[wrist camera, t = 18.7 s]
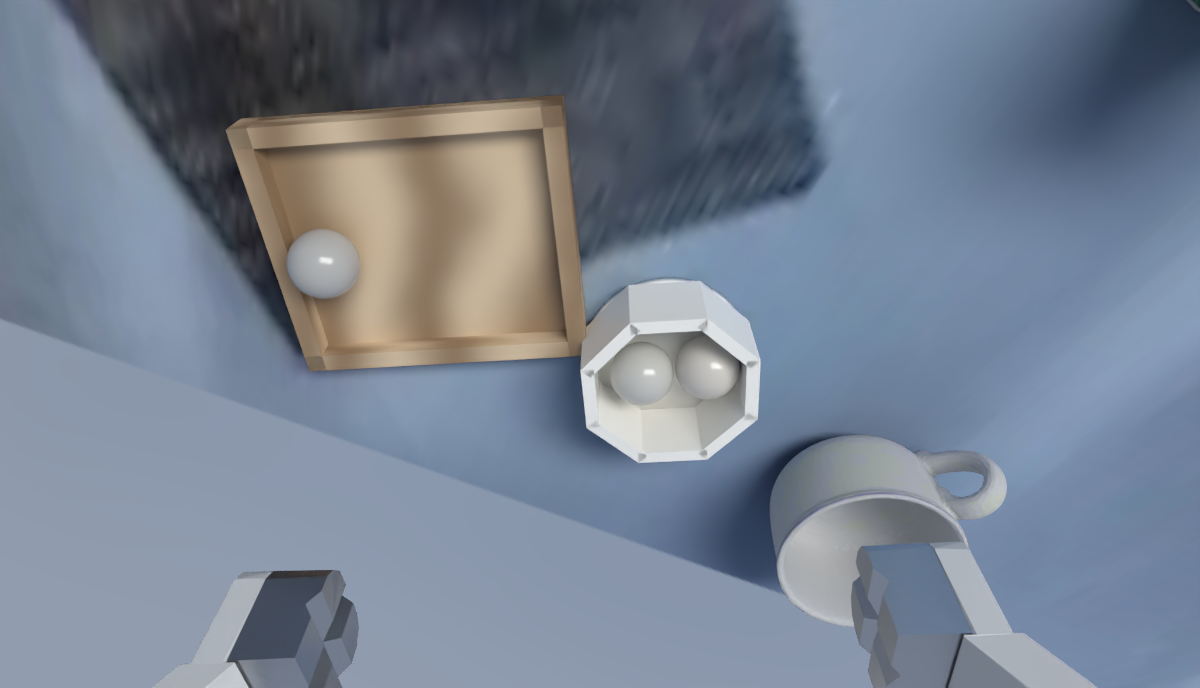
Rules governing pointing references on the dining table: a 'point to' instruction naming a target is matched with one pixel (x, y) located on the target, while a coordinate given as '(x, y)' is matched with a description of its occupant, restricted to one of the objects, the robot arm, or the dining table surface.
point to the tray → (425, 229)
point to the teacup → (865, 512)
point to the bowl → (669, 322)
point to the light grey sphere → (641, 373)
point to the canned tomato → (1195, 4)
